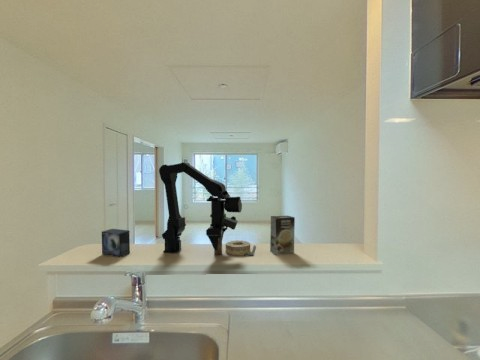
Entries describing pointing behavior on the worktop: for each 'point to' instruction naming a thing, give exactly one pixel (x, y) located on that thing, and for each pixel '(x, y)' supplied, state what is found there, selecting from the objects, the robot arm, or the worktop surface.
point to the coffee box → (282, 234)
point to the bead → (238, 247)
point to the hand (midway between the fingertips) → (218, 247)
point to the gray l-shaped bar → (252, 252)
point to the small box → (115, 242)
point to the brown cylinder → (219, 248)
